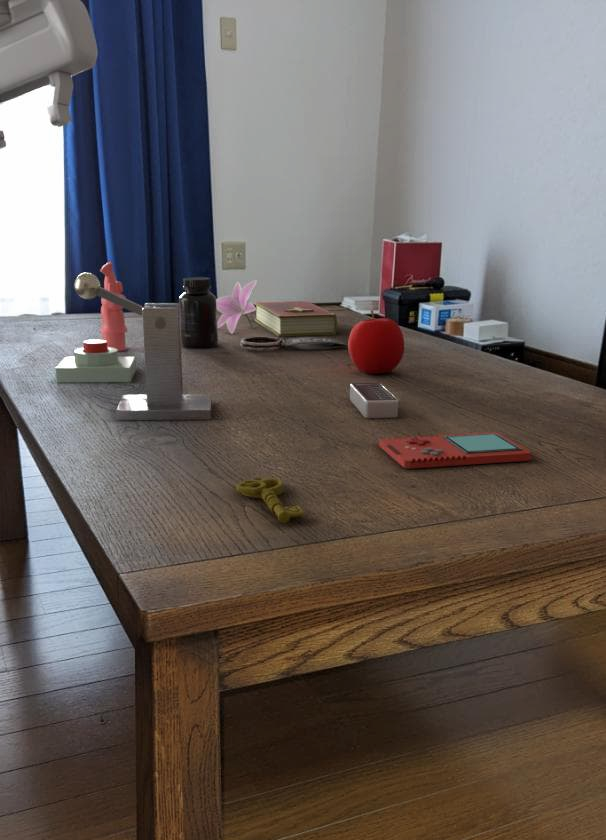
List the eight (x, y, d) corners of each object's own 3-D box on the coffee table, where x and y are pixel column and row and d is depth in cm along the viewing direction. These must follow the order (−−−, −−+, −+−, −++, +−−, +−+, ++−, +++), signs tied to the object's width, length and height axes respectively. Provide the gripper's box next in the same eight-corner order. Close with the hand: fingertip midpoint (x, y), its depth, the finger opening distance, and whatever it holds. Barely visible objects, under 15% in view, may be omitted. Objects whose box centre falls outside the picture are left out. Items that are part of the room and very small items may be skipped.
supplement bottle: (197, 340, 170) (195, 275, 166) (225, 344, 167) (224, 277, 162) (173, 345, 165) (170, 278, 161) (200, 350, 162) (198, 281, 157)
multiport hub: (365, 418, 117) (366, 401, 117) (349, 399, 127) (349, 383, 127) (398, 417, 118) (399, 400, 117) (379, 398, 128) (380, 382, 127)
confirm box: (56, 382, 135) (54, 356, 134) (66, 370, 144) (64, 345, 142) (130, 382, 136) (128, 355, 135) (136, 370, 145) (134, 345, 143)
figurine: (120, 352, 158) (114, 264, 153) (94, 350, 160) (88, 263, 154) (134, 348, 163) (129, 261, 157) (109, 346, 164) (103, 260, 159)
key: (308, 509, 81) (254, 513, 80) (307, 522, 82) (254, 527, 80) (278, 472, 92) (230, 475, 91) (278, 484, 92) (230, 487, 91)
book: (307, 318, 198) (307, 299, 196) (336, 334, 179) (337, 312, 178) (254, 320, 195) (254, 300, 193) (278, 336, 176) (278, 314, 174)
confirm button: (82, 355, 137) (81, 343, 136) (85, 350, 140) (85, 339, 139) (106, 354, 137) (105, 343, 136) (109, 350, 140) (108, 339, 140)
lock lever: (68, 293, 112) (77, 269, 111) (72, 290, 114) (81, 267, 113) (166, 338, 114) (175, 315, 114) (167, 334, 117) (177, 311, 116)
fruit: (351, 365, 150) (353, 304, 146) (405, 368, 149) (409, 306, 145) (342, 376, 142) (344, 311, 138) (399, 379, 140) (403, 314, 136)
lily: (214, 329, 190) (197, 290, 183) (265, 306, 190) (249, 266, 183) (227, 356, 181) (210, 317, 174) (280, 332, 181) (265, 292, 175)
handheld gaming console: (378, 436, 105) (496, 429, 108) (378, 446, 105) (496, 439, 109) (405, 459, 97) (532, 451, 100) (405, 469, 97) (531, 461, 101)
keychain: (347, 350, 163) (347, 339, 162) (242, 352, 160) (242, 341, 159) (338, 343, 170) (339, 332, 169) (238, 345, 167) (237, 334, 166)
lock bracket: (116, 420, 115) (109, 310, 110) (124, 403, 123) (117, 301, 118) (210, 419, 116) (207, 310, 111) (211, 403, 124) (208, 301, 119)
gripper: (-95, 24, 97) (-62, 158, 100) (49, -46, 88) (81, 104, 90) (-50, 38, 102) (-20, 165, 105) (90, -27, 93) (119, 114, 96)
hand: (28, 136), depth 98 cm, fingers open, 8 cm apart
